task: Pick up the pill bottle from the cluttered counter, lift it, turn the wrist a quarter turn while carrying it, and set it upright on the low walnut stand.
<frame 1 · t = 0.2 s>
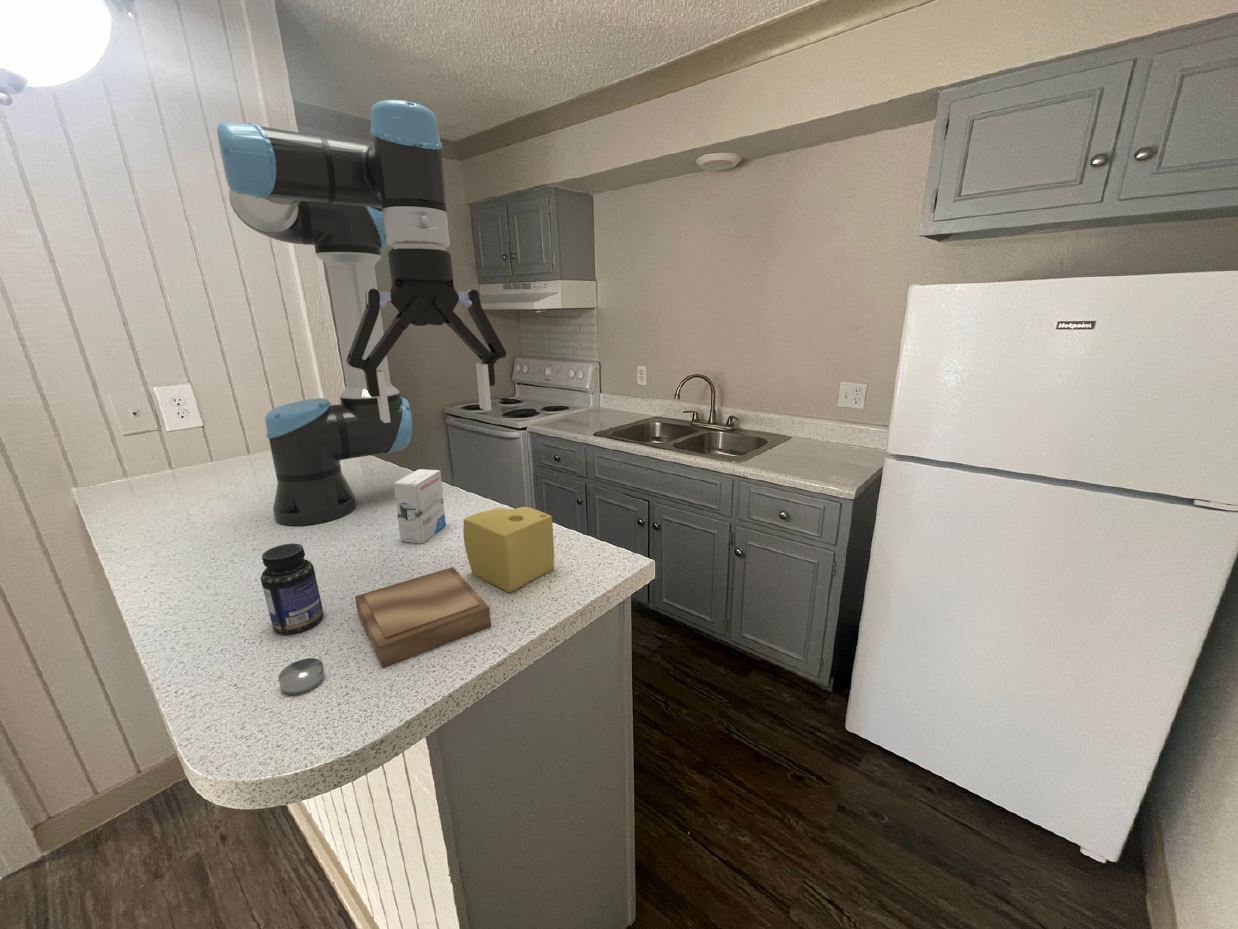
hand: (438, 414, 71), 28 cm above the countertop, fingers open, 13 cm apart
walnut stand: (423, 620, 72), on the countertop
cheese: (513, 573, 85), on the countertop
grey metal puck: (303, 683, 60), on the countertop
pill bottle: (299, 623, 72), on the countertop
ink box: (424, 534, 99), on the countertop
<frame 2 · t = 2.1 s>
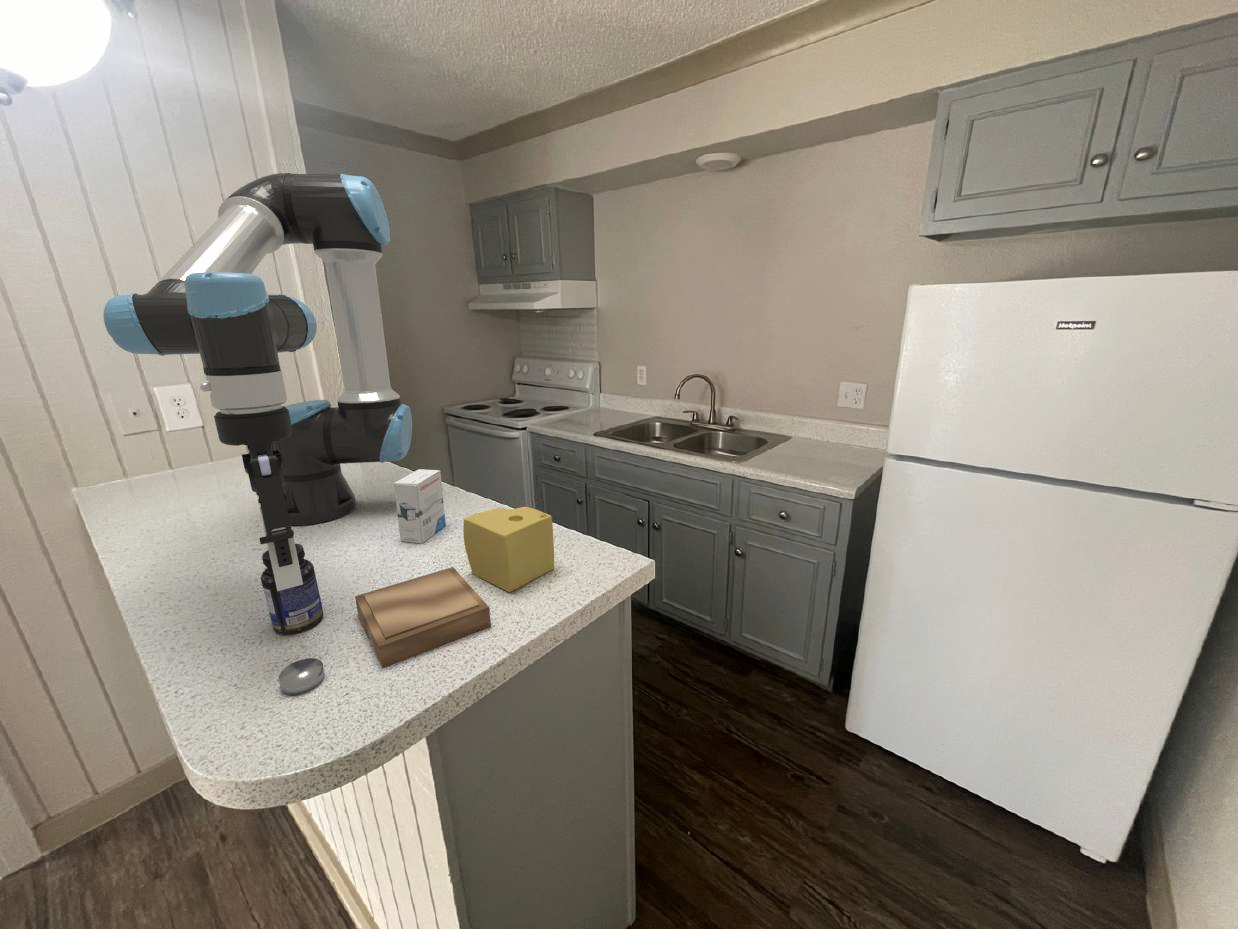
hand: (284, 566, 69), 9 cm above the countertop, fingers open, 13 cm apart
nothing on the countertop moved.
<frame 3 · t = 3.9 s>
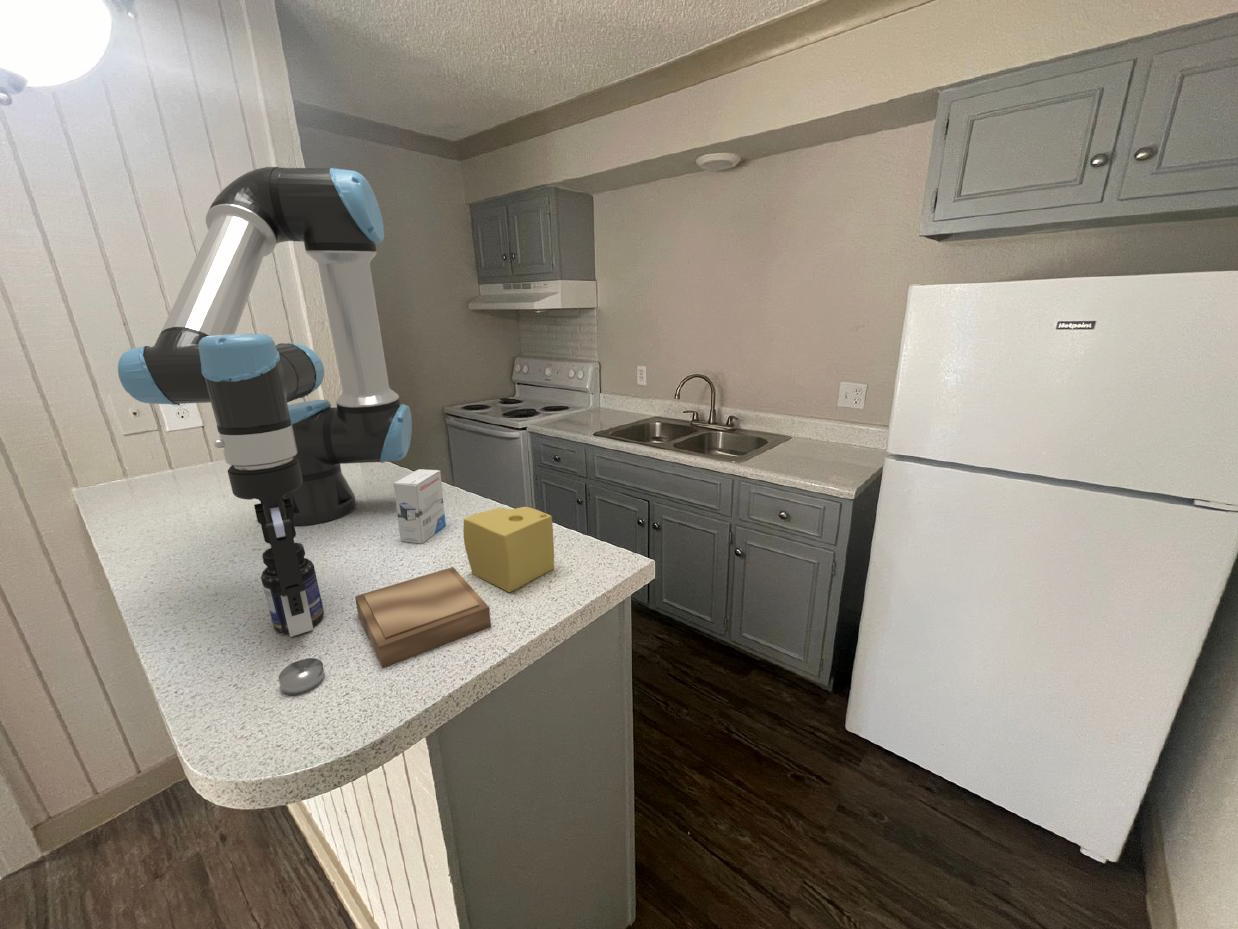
hand: (298, 619, 72), 0 cm above the countertop, fingers closed on pill bottle, 6 cm apart
pill bottle: (299, 622, 72), on the countertop, touching gripper
everything else where it was.
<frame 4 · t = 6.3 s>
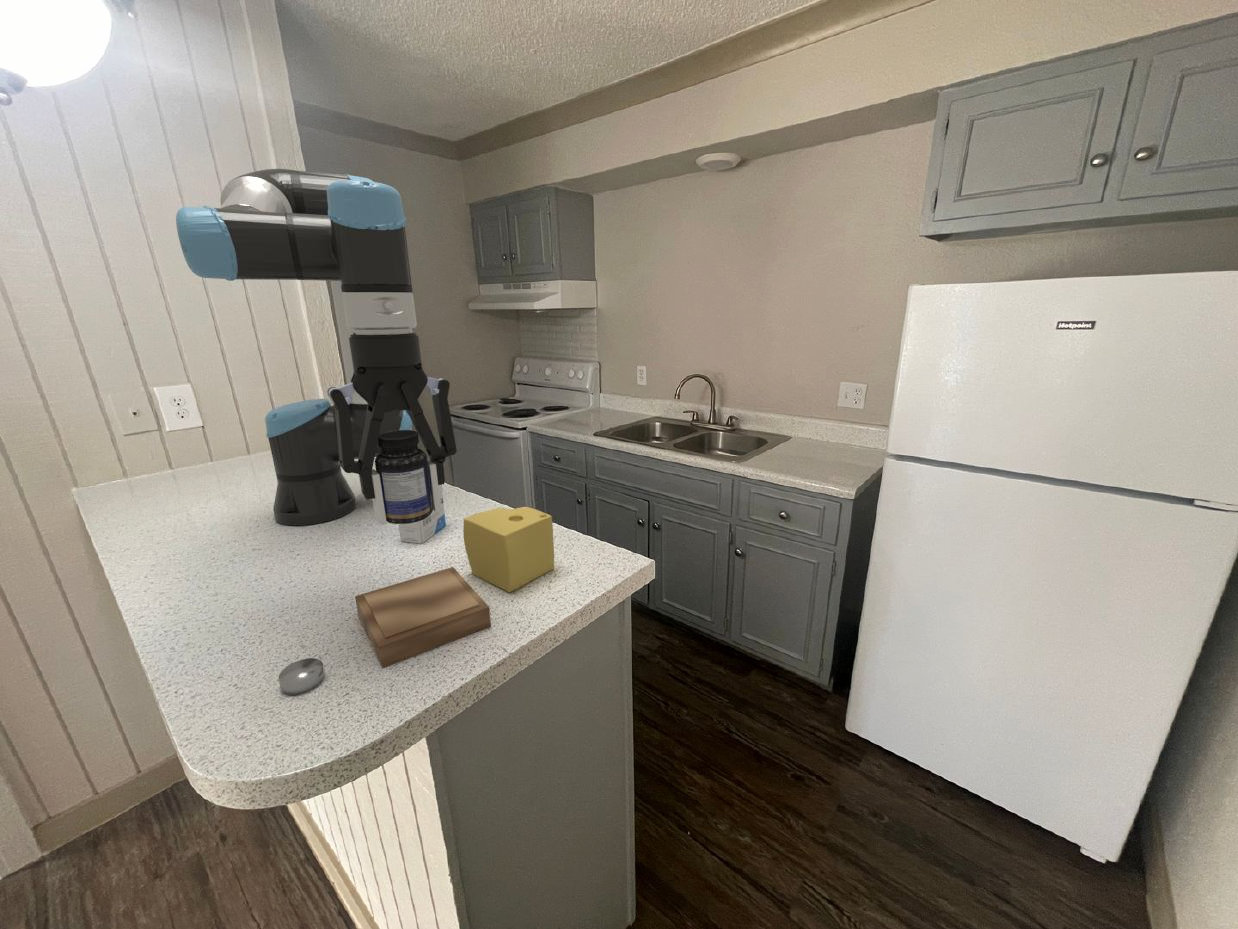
hand: (408, 514, 67), 16 cm above the countertop, fingers closed on pill bottle, 6 cm apart
pill bottle: (409, 517, 67), point 16 cm above the countertop, touching gripper
everything else where it was.
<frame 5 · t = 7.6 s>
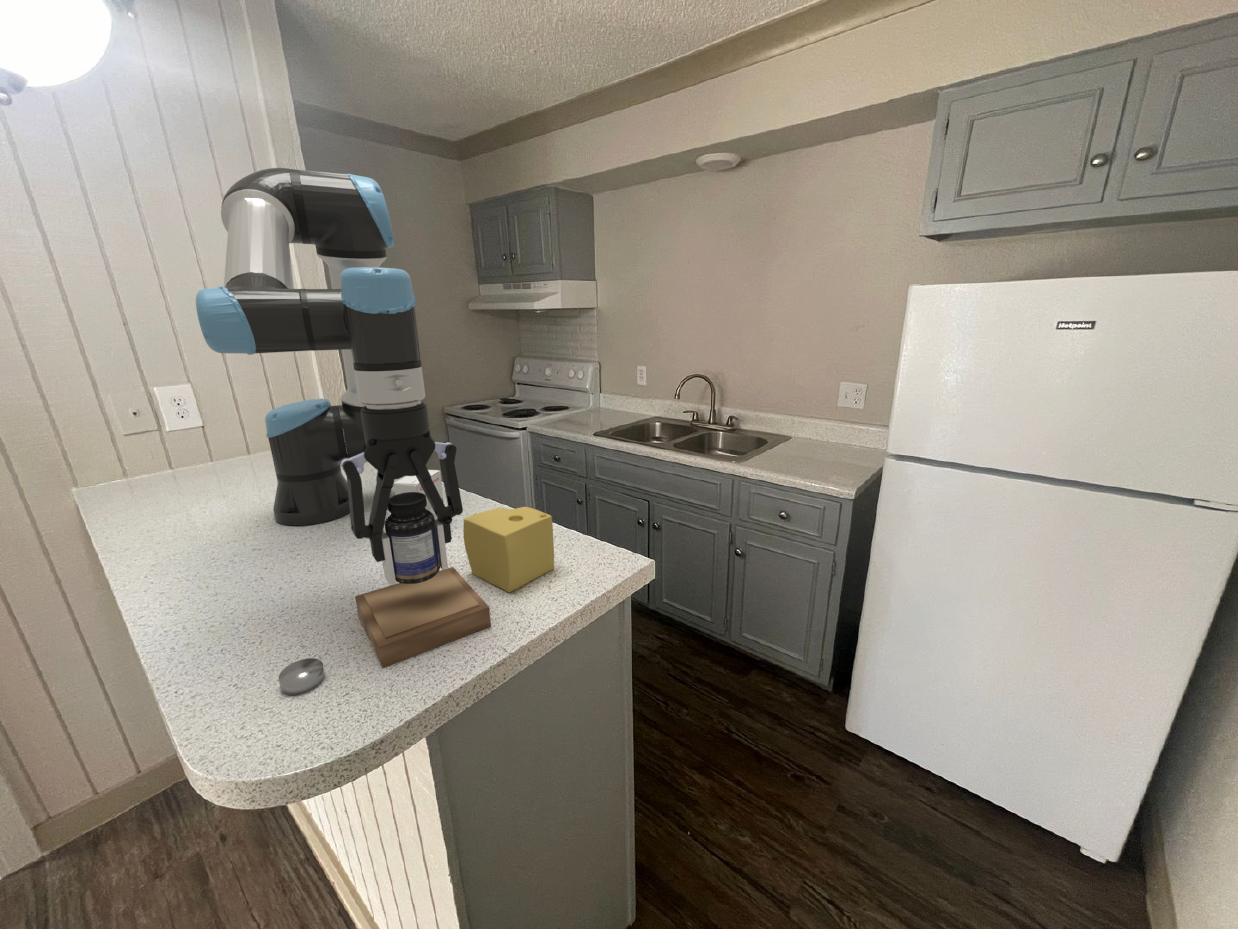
hand: (416, 572, 70), 8 cm above the countertop, fingers closed on pill bottle, 6 cm apart
pill bottle: (417, 575, 70), point 7 cm above the countertop, touching gripper
everything else where it was.
when the fingers open (4 cm above the countertop, at t = 8.6 s): pill bottle stays where it is, resting on walnut stand.
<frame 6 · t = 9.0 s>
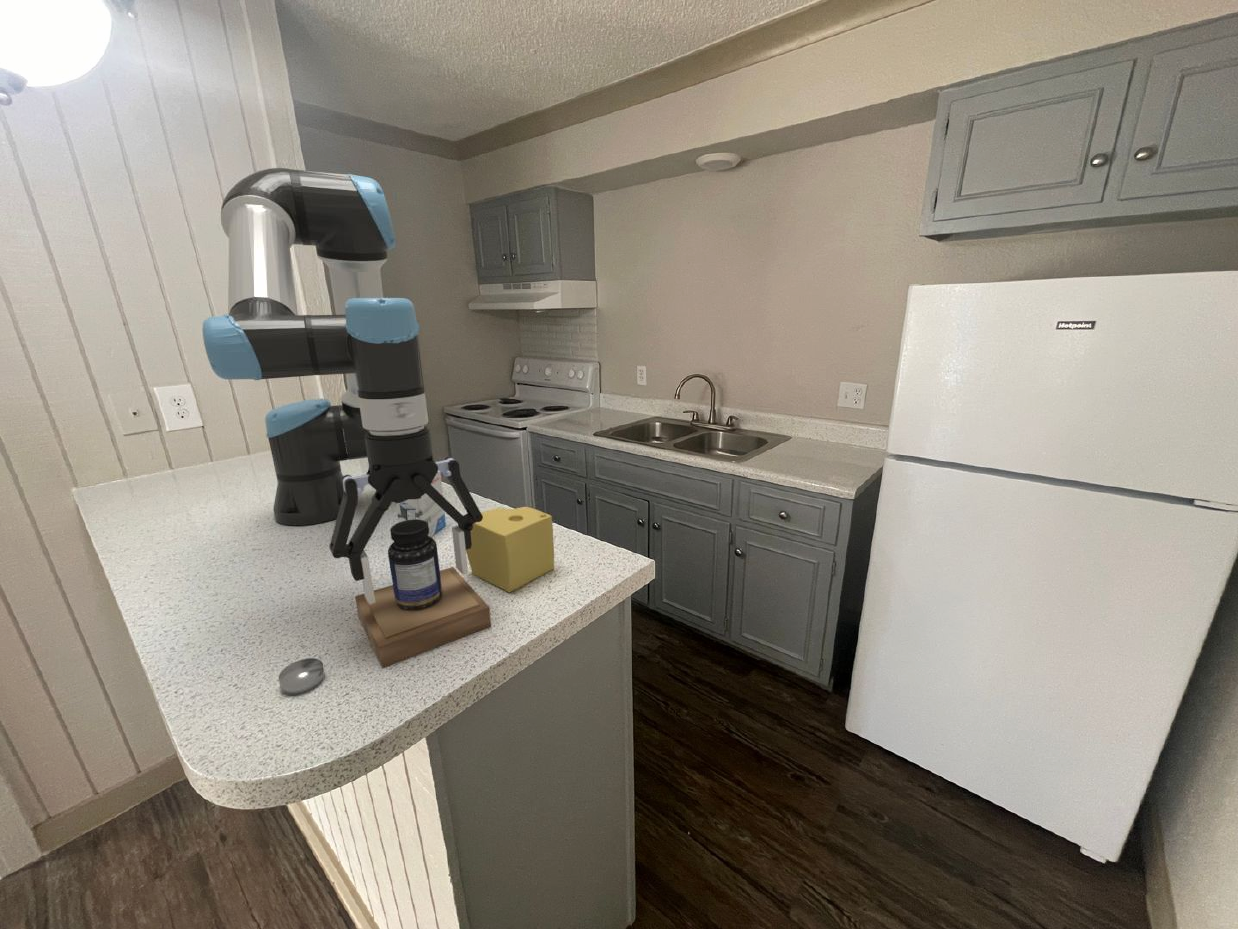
hand: (418, 584, 70), 6 cm above the countertop, fingers open, 11 cm apart
pill bottle: (419, 600, 71), point 3 cm above the countertop, touching walnut stand
everything else where it was.
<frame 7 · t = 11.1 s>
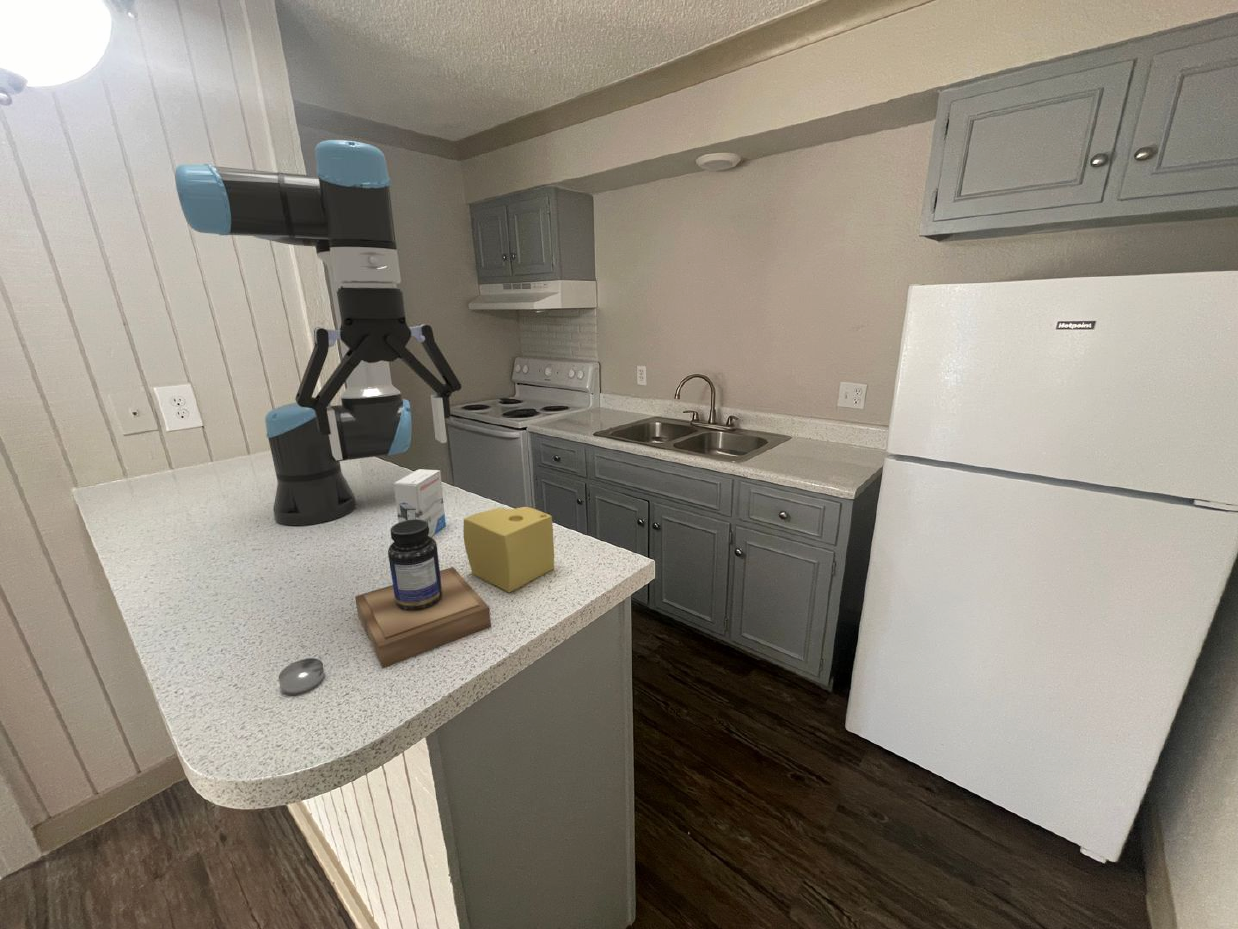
hand: (392, 448, 71), 23 cm above the countertop, fingers open, 13 cm apart
nothing on the countertop moved.
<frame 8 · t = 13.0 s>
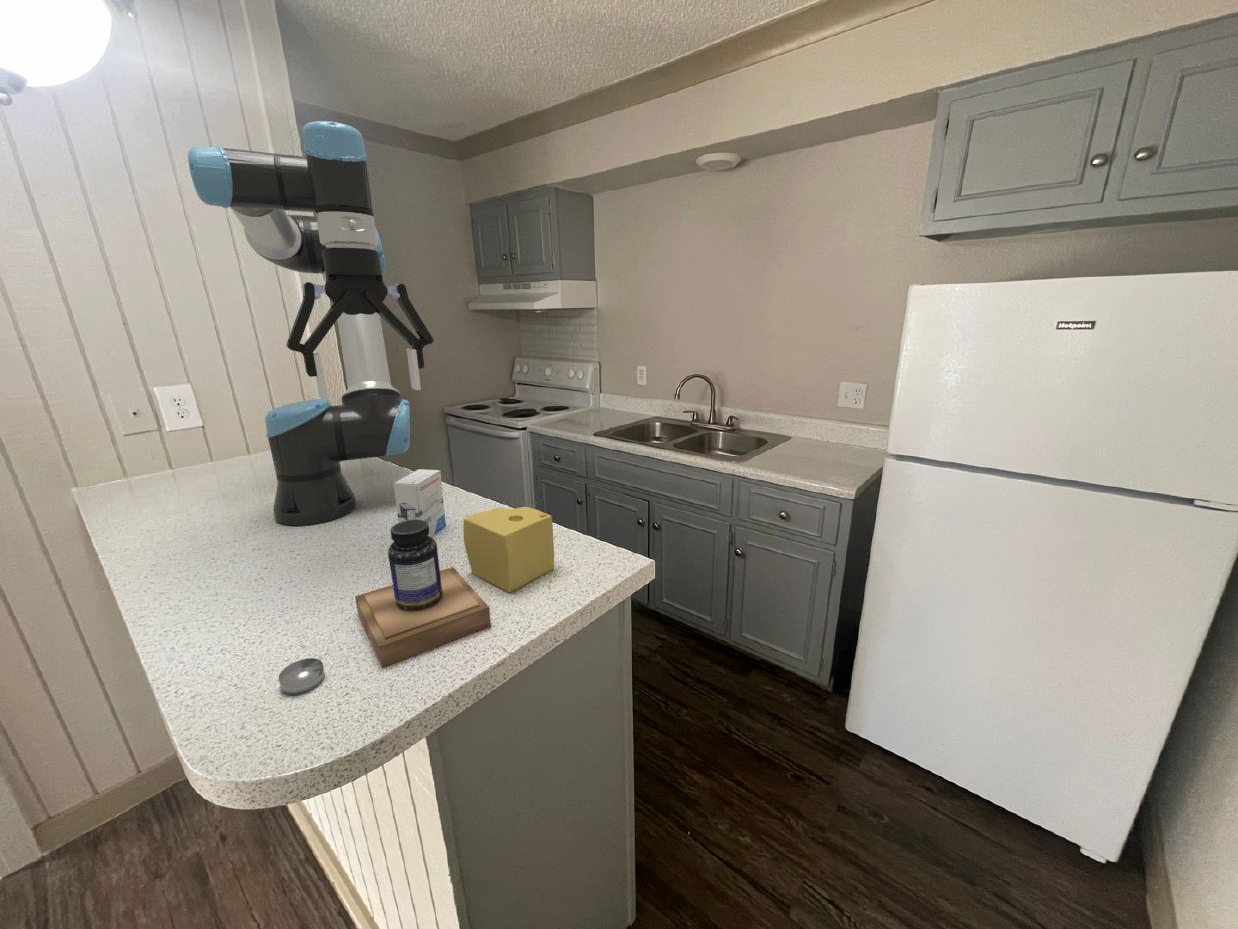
hand: (372, 393, 81), 29 cm above the countertop, fingers open, 13 cm apart
nothing on the countertop moved.
at the end: pill bottle inside the target area on the walnut stand (0.1 cm from its centre), point 3.1 cm above the walnut stand's base; pill bottle tilted 0°; the gripper is holding nothing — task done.
